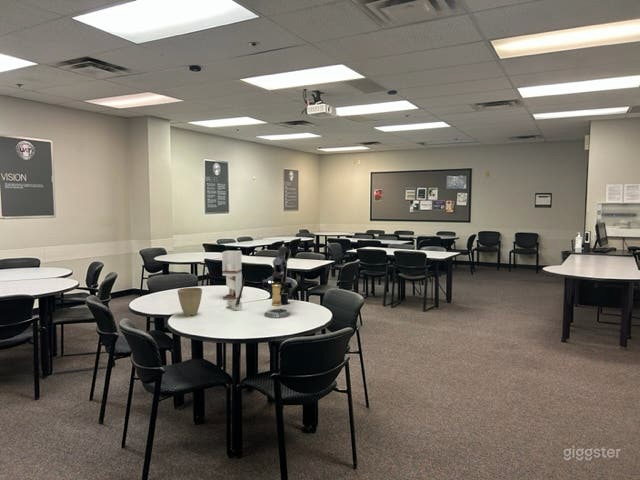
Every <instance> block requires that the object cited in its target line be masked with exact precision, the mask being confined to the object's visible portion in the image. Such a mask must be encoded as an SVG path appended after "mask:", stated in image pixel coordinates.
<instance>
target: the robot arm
mask: <svg viewBox="0 0 640 480" xmlns="http://www.w3.org/2000/svg"><path fill="white" fill-rule="evenodd" d="M291 253H292V251H291V249H290V248H288V247H287V246H279V247H278V249H277V256H276V257H275V259H273V260H272V265H273V269H274V272H272V281H271V280H269V279H263V280H262V282H261V283H262V288H264V289H267V290H269V291H270V294H271V296H272V284H281V292H280V295H281V306H282V305H283V306H284V305H288V304H290V302H289V296H291V289H293V284H294V283H293V280H292V279H287V278H288V277H287V274H288V261H289V260H290V257H291V255H292V254H291Z"/></svg>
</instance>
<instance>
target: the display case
mask: <svg viewBox="0 0 640 480" xmlns="http://www.w3.org/2000/svg"><path fill="white" fill-rule="evenodd" d="M221 254H222V255H221V256H222V263H221V264H222V267H221V269H222V276H225V278H226V279H225V280H226V281H225V282H226V283H225V284H226V287H227V288H228V290H229V291H228V294H225V295H224V296H222V300H223V301H228V300H231V301H233V300H238V297H239V293H240V290H241V286H242V283H243V279H242V278H243V277H242V276H243V275H242V267H243V266H242V250H224V251H222V253H221ZM241 298H243V293H242V294H241Z"/></svg>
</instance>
